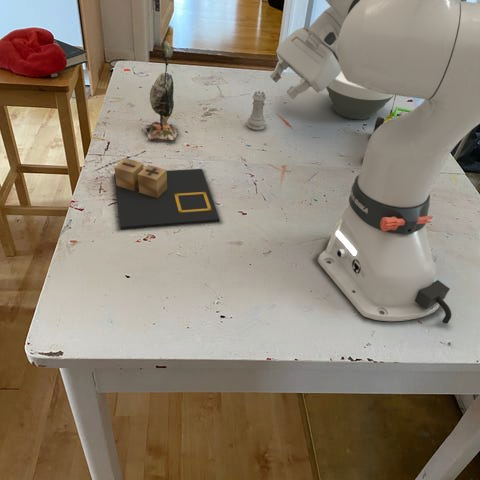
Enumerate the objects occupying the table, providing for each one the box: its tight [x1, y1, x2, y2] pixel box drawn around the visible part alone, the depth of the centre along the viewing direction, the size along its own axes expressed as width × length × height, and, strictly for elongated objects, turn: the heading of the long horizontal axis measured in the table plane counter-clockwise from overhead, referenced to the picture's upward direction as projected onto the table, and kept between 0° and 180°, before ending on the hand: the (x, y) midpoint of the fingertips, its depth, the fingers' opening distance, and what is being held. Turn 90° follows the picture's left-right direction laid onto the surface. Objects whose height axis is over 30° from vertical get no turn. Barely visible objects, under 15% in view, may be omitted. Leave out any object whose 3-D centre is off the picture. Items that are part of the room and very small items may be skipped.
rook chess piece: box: [246, 90, 267, 131], centre depth 112 cm, size 4×4×8 cm
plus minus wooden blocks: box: [114, 157, 168, 198], centre depth 91 cm, size 4×9×4 cm, turn 68°
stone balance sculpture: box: [144, 40, 179, 142], centre depth 102 cm, size 8×11×20 cm
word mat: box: [113, 168, 220, 230], centre depth 91 cm, size 18×18×1 cm
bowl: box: [325, 71, 395, 120], centre depth 123 cm, size 20×20×10 cm
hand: (280, 87), depth 110 cm, fingers open, 8 cm apart
